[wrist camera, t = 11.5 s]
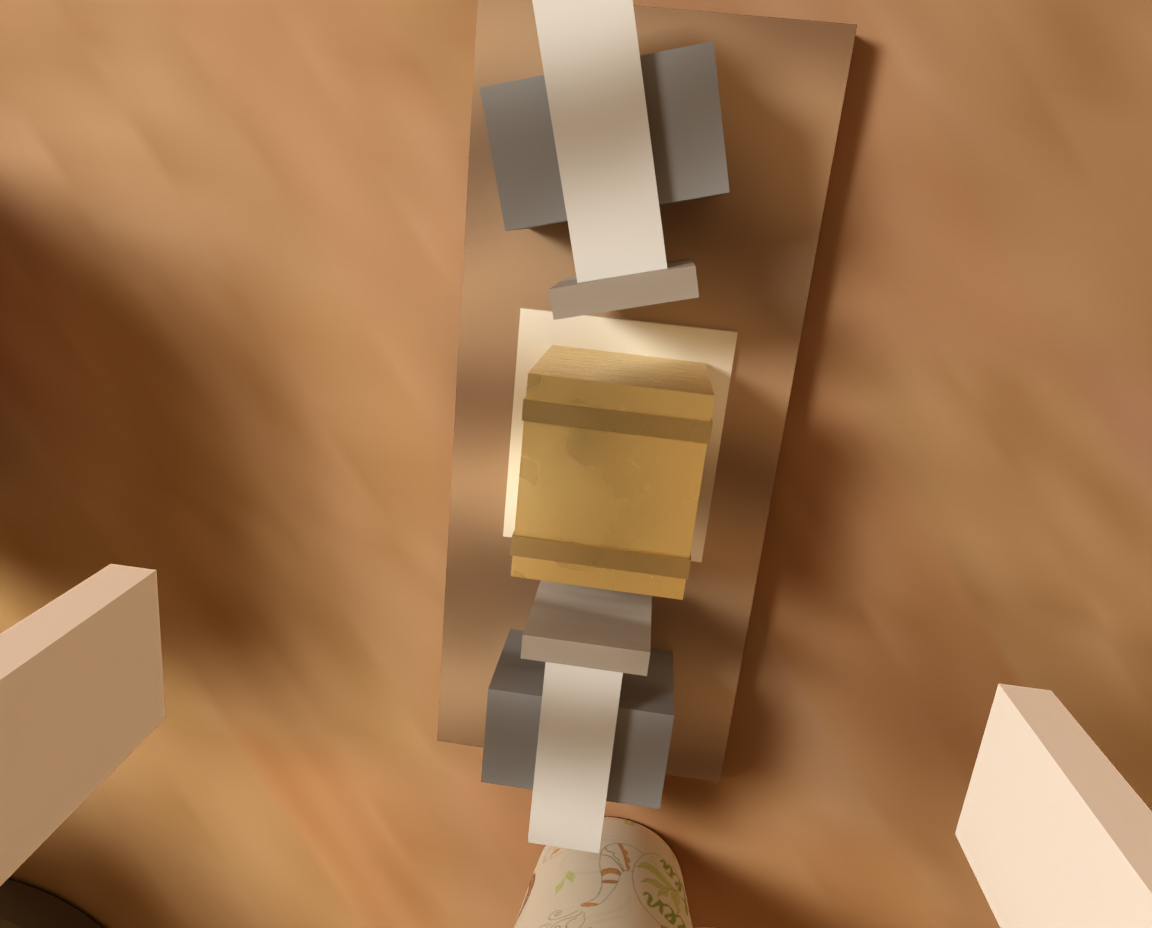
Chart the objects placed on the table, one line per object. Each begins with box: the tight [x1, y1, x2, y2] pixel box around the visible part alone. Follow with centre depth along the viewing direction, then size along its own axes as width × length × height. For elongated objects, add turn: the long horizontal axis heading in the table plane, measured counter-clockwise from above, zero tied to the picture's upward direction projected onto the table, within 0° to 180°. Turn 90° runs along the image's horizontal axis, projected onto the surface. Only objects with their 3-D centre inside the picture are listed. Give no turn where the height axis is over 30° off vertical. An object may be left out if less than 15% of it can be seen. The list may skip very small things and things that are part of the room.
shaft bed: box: [437, 0, 857, 853], centre depth 25 cm, size 26×11×6 cm, turn 174°
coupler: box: [510, 345, 715, 600], centre depth 25 cm, size 6×5×5 cm
